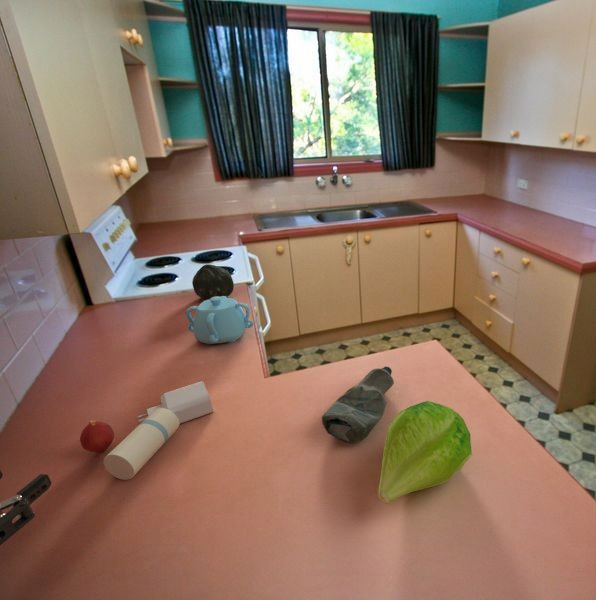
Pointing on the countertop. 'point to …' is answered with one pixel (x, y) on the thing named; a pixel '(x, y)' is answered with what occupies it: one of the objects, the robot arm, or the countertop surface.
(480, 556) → the countertop surface
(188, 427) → the countertop surface
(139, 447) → the paper towel roll
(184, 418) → the charger
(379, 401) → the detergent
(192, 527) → the countertop surface
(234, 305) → the decorative pot
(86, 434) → the onion
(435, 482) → the lettuce
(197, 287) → the squash
